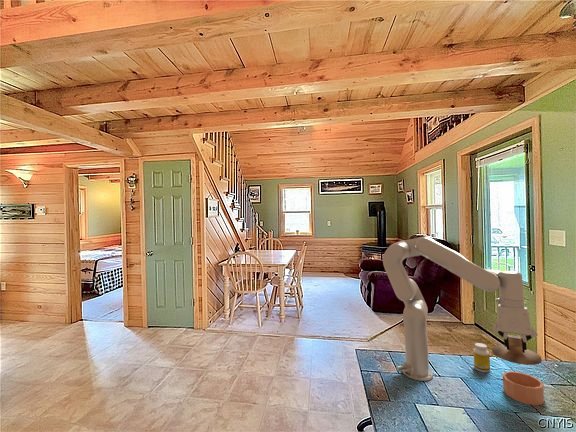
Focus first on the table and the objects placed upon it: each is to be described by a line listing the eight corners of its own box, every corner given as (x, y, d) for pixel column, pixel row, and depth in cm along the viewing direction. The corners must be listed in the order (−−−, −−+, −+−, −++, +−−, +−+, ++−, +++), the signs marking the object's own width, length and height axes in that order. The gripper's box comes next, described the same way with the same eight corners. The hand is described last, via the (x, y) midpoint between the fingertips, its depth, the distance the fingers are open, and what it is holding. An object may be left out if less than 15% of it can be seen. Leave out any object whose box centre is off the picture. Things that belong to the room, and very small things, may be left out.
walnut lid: (493, 359, 107) (491, 340, 107) (491, 344, 120) (490, 328, 120) (545, 368, 99) (543, 348, 99) (537, 352, 111) (536, 334, 112)
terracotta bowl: (527, 407, 102) (526, 390, 102) (496, 388, 114) (495, 373, 114) (552, 402, 104) (551, 385, 105) (519, 384, 116) (519, 369, 116)
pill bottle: (493, 373, 125) (491, 348, 126) (477, 372, 127) (476, 347, 127) (486, 366, 131) (485, 342, 132) (471, 365, 133) (470, 341, 133)
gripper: (486, 302, 112) (489, 349, 111) (542, 307, 102) (546, 358, 102) (485, 298, 118) (488, 342, 117) (538, 303, 109) (542, 350, 108)
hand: (515, 349), depth 109 cm, fingers closed on walnut lid, 4 cm apart
